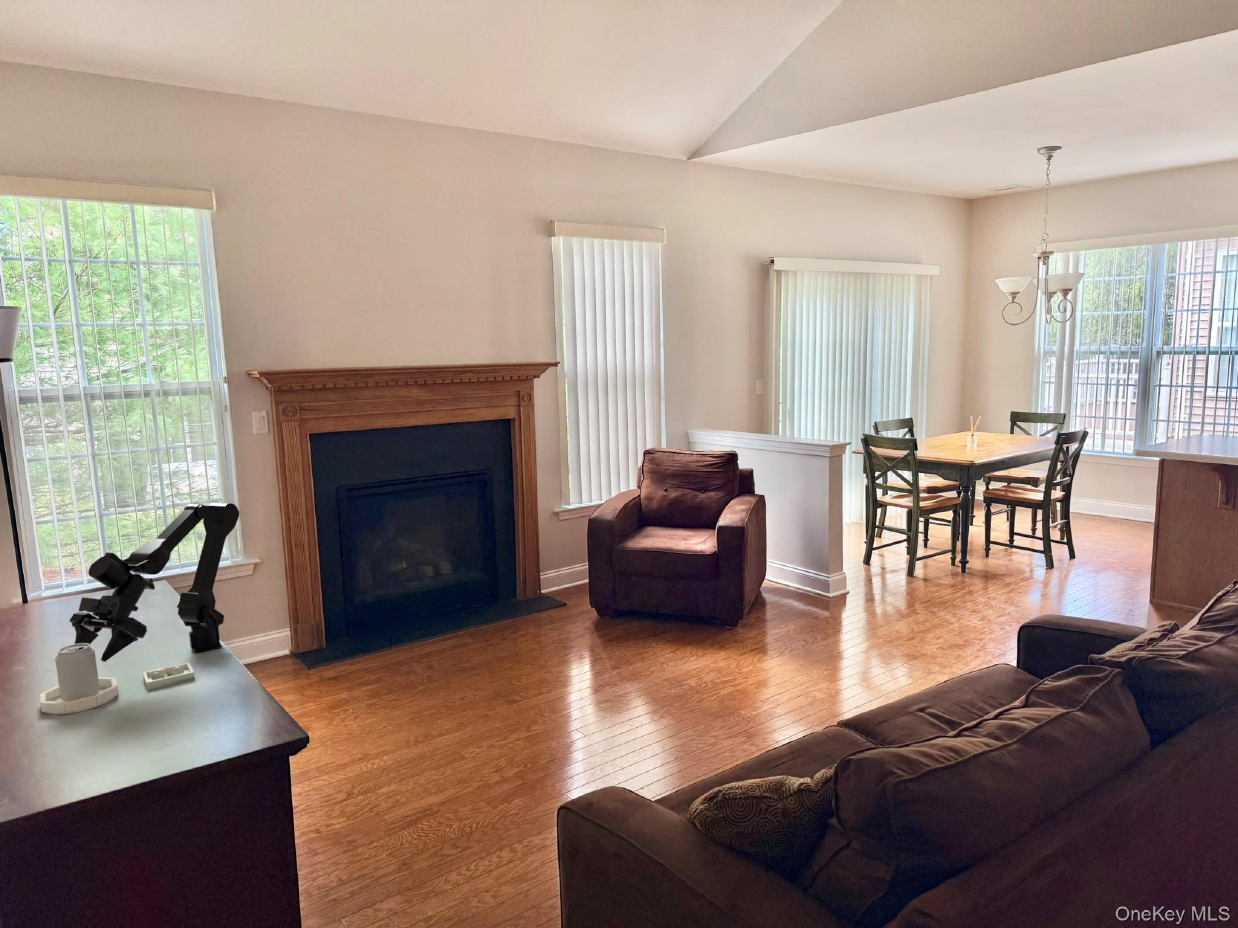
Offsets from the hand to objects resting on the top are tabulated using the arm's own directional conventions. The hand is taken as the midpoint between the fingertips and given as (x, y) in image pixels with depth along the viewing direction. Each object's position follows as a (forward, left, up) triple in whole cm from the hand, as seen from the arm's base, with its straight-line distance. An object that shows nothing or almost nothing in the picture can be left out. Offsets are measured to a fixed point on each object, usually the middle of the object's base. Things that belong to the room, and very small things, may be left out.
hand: (88, 658), depth 191 cm
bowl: (+2, +2, -9) cm, 9 cm away
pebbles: (-16, +1, -9) cm, 18 cm away
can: (+2, +2, -8) cm, 9 cm away
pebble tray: (-16, +1, -9) cm, 18 cm away
